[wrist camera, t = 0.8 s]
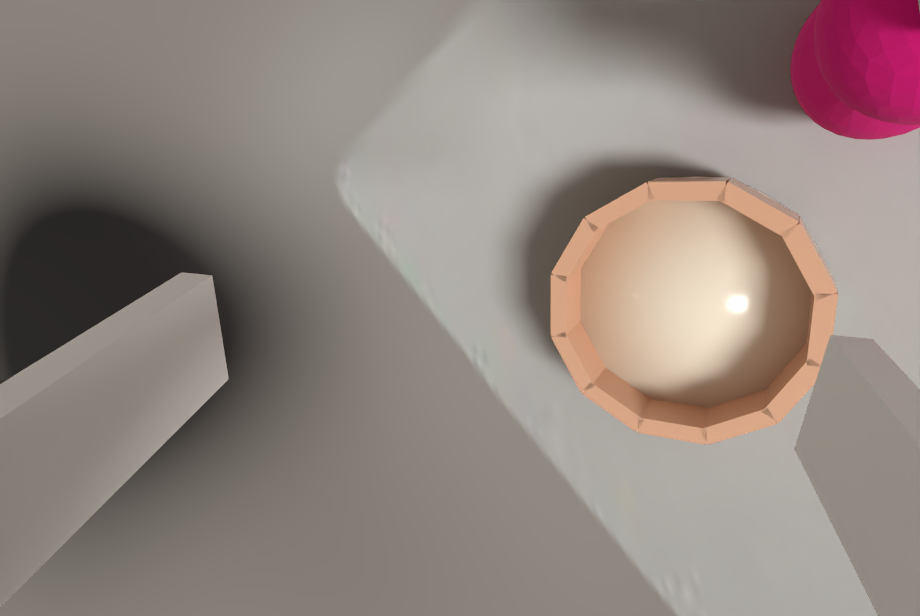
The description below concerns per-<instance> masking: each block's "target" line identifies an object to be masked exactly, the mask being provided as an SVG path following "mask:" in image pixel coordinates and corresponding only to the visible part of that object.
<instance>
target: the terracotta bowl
mask: <svg viewBox="0 0 920 616" xmlns="http://www.w3.org/2000/svg"><path fill="white" fill-rule="evenodd" d="M551 273H552V274H551V336H552V337H551V338H552V340H553V342H554V344H555V346H556V348H557V349H558V351H559V353H560V355H561V357H562V359H563V361H564V362H565V364H566V366H567V368H568V370H569V372H570V373H571V375H572V377H573V379H574V381H575V383H576V385H577V386H578V388H579V390H580V392H583V393H582V394H583V395H585V396H586V397H587V398H589V399H590V400H592V401H593V402H594V403H596V404H597V405H599V406H600V407H601V408H603V409H604V410H606V411H607V412H609V413H610V414H611V415H613V416H614V417H616V418H617V419H618V420H620V421H621V422H623V423H624V424H625V425H627V426H628V427H630V428H631V429H632V430H634V431H635V432H636V431H637V429H638V431H637V433H643V434H649V435H654V436H660V437H666V438H671V439H677V440H682V441H688V442H694V443H699V444H705V445H706V442H707V444H712V443H715V442H718V441H722V440H725V439H728V438H732V437H735V436H738V435H742V434H745V433H749V432H752V431H755V430H759V429H762V428H765V427H769V426H772V425H775V424H777V422H778V423H779V422H780V421H781V420H782V419H783V418H784V417H785V415H786V414H787V413H788V412H789V411H790V410H791V409H792V408H793V407H794V406H795V405H796V404H797V402H798V401H799V400H800V399H801V398H802V397H803V396H804V395H805V394H806V393H807V392H808V391H809V389H810V388H811V387H812V386H813V385H814V384H815V382H816V379H817V376H818V373H819V369H820V366H821V363H822V360H823V357H824V354H825V350H826V347H827V344H828V341H829V338H830V335H833V330H834V322H835V314H836V307H837V299H838V292H837V288H836V285H835V281H834V279H833V277H832V275H831V273H830V271H829V269H828V267H827V266H826V264H825V262H824V260H823V258H822V256H821V254H820V252H819V250H818V248H817V245H816V244H815V242H814V240H813V239H812V237H811V236H810V234H809V232H808V230H807V228H806V227H805V225H804V223H803V221H802V219H801V217H800V216H798V214H797V213H795V212H793V211H791V210H790V209H788V208H786V207H784V206H783V205H782V204H780V203H779V202H777V201H776V200H774V199H772V198H771V197H769V196H768V195H766V194H764V193H762V192H760V191H758V190H756V189H754V188H752V187H750V186H747V185H745V184H743V183H741V182H739V181H738V180H736V179H734V178H732V179H731V177H700V176H693V177H679V178H656V179H653V180H651V181H648V182H646V183H644V184H642V185H640V186H639V187H637V188H635V189H633V190H631V191H630V192H628V193H626V194H624V195H623V196H621V197H619V198H617V199H615V200H614V201H612V202H610V203H608V204H607V205H605V206H603V207H601V208H599V209H598V210H596V211H594V212H592V213H591V214H589V215H587V216H585V218H583V220H582V221H581V223H580V225H579V226H578V228H577V230H576V232H575V233H574V235H573V237H572V238H571V240H570V242H569V244H568V245H567V247H566V249H565V250H564V252H563V254H562V255H561V257H560V259H559V261H558V262H557V264H556V266H555V267H554V269H553V271H552V272H551Z"/></svg>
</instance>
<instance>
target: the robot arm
mask: <svg viewBox="0 0 920 616" xmlns="http://www.w3.org/2000/svg"><path fill="white" fill-rule="evenodd" d="M219 323H220V322H219V316H218V310H217V303H216V297H215V291H214V284H213V279H212V276H211V275H201V274H191V273H180V274H178V275H177V276H175V277H174V278H172V279H170V280H169V281H167V282H165V283H164V284H162V285H160V286H159V287H157V288H156V289H154V290H152V291H151V292H149V293H147V294H146V295H144V296H143V297H141V298H140V299H138V300H136V301H134V302H133V303H131V304H130V305H128V306H126V307H125V308H123V309H121V310H120V311H118V312H117V313H115V314H114V315H112V316H110V317H108V318H107V319H105V320H104V321H102V322H100V323H99V324H97V325H96V326H94V327H92V328H91V329H89V330H87V331H86V332H84V333H83V334H81V335H79V336H78V337H76V338H74V339H73V340H71V341H70V342H68V343H66V344H65V345H63V346H62V347H60V348H58V349H57V350H55V351H53V352H52V353H50V354H49V355H47V356H45V357H44V358H42V359H40V360H39V361H37V362H35V363H34V364H32V365H31V366H29V367H27V368H26V369H24V370H22V371H21V372H19V373H18V374H16V375H14V376H12V377H9V378H6V379H4V380H1V381H0V607H1V606H2V605H3V603H5V602H6V601H7V600H8V599H9V598H10V597H11V596H12V595H13V594H14V593H15V592H16V591H17V590H18V589H19V588H20V587H21V586H22V585H23V584H24V583H25V582H26V581H27V580H28V579H29V578H30V577H31V576H32V575H33V574H34V573H35V572H36V571H37V570H38V569H39V568H40V567H41V566H42V565H43V564H44V563H45V562H46V561H47V560H48V559H49V558H50V557H51V556H52V555H53V554H54V553H55V552H56V551H57V550H58V549H59V548H60V547H61V546H62V545H63V544H64V543H65V542H66V541H67V540H68V539H69V538H70V537H71V536H72V535H73V534H74V533H75V532H76V531H77V530H78V529H79V528H80V527H81V526H82V525H83V524H84V523H85V522H86V521H87V520H88V519H89V518H90V517H91V516H92V515H93V514H94V513H95V512H96V511H97V510H98V509H99V508H100V507H101V506H102V505H103V504H104V503H105V502H106V501H107V500H108V499H109V498H110V497H111V496H112V495H113V494H114V493H115V492H116V491H117V490H118V489H119V488H120V487H121V486H122V485H123V484H124V483H125V482H126V481H127V480H128V479H129V478H130V477H131V476H132V475H133V474H134V473H135V472H136V471H137V470H138V469H139V468H140V467H141V466H142V465H143V464H144V463H145V462H146V461H147V460H148V459H149V458H150V457H151V456H152V455H153V454H154V453H155V452H156V451H157V450H158V449H159V448H160V447H161V446H162V445H163V444H164V443H165V442H166V441H167V440H168V439H169V438H170V437H171V436H172V435H173V434H174V433H175V432H176V431H177V430H178V429H179V428H180V427H181V426H182V425H183V424H184V423H185V422H186V421H187V420H188V419H189V418H190V417H191V416H192V415H193V414H194V413H195V412H196V411H197V410H198V409H199V408H200V407H201V406H202V405H203V404H204V403H205V402H206V401H207V400H208V399H209V398H210V397H211V396H212V395H213V394H214V393H215V392H216V391H217V390H218V389H219V388H220V387H221V386H222V385H223V384H224V383H225V382H226V381H227V380H228V373H227V367H226V360H225V354H224V348H223V341H222V335H221V329H220V324H219ZM795 451H796V453H797V455H798V457H799V459H800V461H801V463H802V465H803V467H804V469H805V471H806V473H807V475H808V477H809V479H810V481H811V483H812V485H813V487H814V489H815V491H816V493H817V495H818V497H819V499H820V501H821V503H822V505H823V507H824V509H825V511H826V513H827V515H828V517H829V519H830V521H831V523H832V525H833V527H834V529H835V531H836V533H837V535H838V537H839V539H840V541H841V543H842V545H843V547H844V549H845V551H846V553H847V555H848V557H849V559H850V561H851V563H852V565H853V567H854V569H855V571H856V573H857V575H858V577H859V579H860V581H861V583H862V585H863V587H864V589H865V591H866V593H867V595H868V597H869V599H870V601H871V603H872V605H873V607H874V609H875V611H876V613H877V615H878V616H920V389H919V388H918V387H917V386H916V385H915V384H914V383H913V382H912V381H911V380H910V379H909V378H908V377H907V375H906V374H905V373H904V372H903V371H902V370H901V369H900V368H899V367H898V366H897V365H896V364H895V363H894V361H893V360H892V359H891V358H890V357H889V356H888V355H887V354H886V353H885V352H884V351H883V350H882V349H881V347H880V346H879V345H878V344H877V343H876V342H875V341H874V340H873V339H866V338H856V337H845V336H835V335H830V338H829V341H828V344H827V347H826V350H825V354H824V357H823V360H822V363H821V366H820V369H819V373H818V376H817V379H816V382H815V385H814V388H813V392H812V395H811V398H810V401H809V404H808V407H807V411H806V414H805V417H804V420H803V423H802V427H801V430H800V433H799V436H798V439H797V442H796V446H795Z"/></svg>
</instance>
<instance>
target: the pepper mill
mask: <svg viewBox="0 0 920 616" xmlns="http://www.w3.org/2000/svg"><path fill="white" fill-rule="evenodd" d="M790 69H791V82H792V86H793V90H794V94H795V96H796V98H797V100H798V103H799V104H800V106H801V107H802V109H803V110H804V111H805V113H806V114H807V115H808V116H809V117H810V118H811V119H812V120H813V121H814V122H815V123H817V124H818V125H820V126H821V127H823V128H824V129H826V130H829V131H831V132H833V133H835V134H838V135H841V136H845V137H850V138H854V139H882V138H888V137H892V136H897V135H901V134H905V133H907V132H910V131H912V130H914V129H917V128H919V127H920V0H821V1H820V3H819V5H818V6H817V7H816V8H815V10H814V11H813V12H812V13H811V15H810V16H809V17H808V19H807V20H806V22H805V24H804V25H803V27H802V29H801V31H800V33H799V35H798V37H797V40H796V42H795V46H794V49H793V53H792V59H791V67H790Z"/></svg>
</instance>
